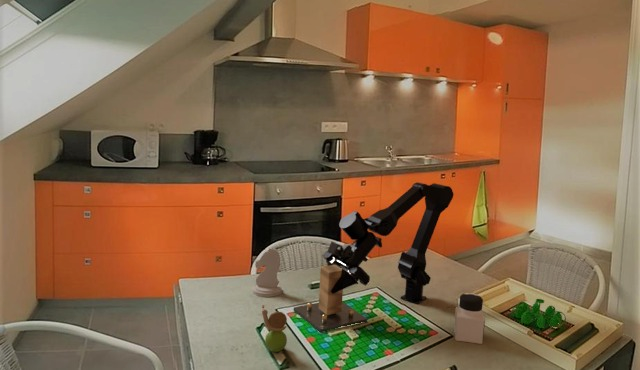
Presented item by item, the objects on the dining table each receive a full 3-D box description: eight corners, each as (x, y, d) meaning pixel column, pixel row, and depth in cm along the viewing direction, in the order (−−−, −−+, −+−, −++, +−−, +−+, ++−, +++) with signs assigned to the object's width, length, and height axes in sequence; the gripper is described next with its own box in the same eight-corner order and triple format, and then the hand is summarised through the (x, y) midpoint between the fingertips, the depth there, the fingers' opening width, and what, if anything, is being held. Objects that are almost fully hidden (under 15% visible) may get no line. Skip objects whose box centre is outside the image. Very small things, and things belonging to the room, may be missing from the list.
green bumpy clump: (569, 337, 137) (572, 314, 136) (513, 328, 141) (515, 305, 140) (560, 316, 151) (562, 295, 150) (509, 308, 155) (511, 288, 154)
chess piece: (256, 285, 166) (256, 242, 163) (284, 287, 165) (285, 244, 162) (249, 295, 156) (249, 251, 154) (278, 298, 155) (280, 253, 153)
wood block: (332, 305, 146) (335, 264, 144) (341, 312, 142) (343, 270, 140) (318, 308, 144) (320, 266, 142) (326, 315, 140) (329, 272, 137)
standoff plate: (338, 301, 154) (338, 293, 153) (367, 322, 140) (367, 312, 140) (293, 310, 146) (293, 301, 146) (319, 332, 132) (320, 322, 132)
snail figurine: (261, 345, 124) (262, 301, 122) (286, 345, 125) (287, 301, 123) (260, 356, 119) (261, 310, 117) (286, 355, 119) (288, 310, 117)
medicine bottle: (482, 344, 130) (487, 302, 128) (455, 341, 131) (459, 299, 129) (479, 332, 136) (483, 292, 135) (453, 329, 138) (457, 289, 136)
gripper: (328, 225, 149) (295, 263, 145) (363, 240, 133) (327, 284, 129) (348, 246, 154) (317, 284, 151) (384, 264, 138) (350, 307, 135)
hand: (327, 289), depth 141 cm, fingers closed on wood block, 5 cm apart
